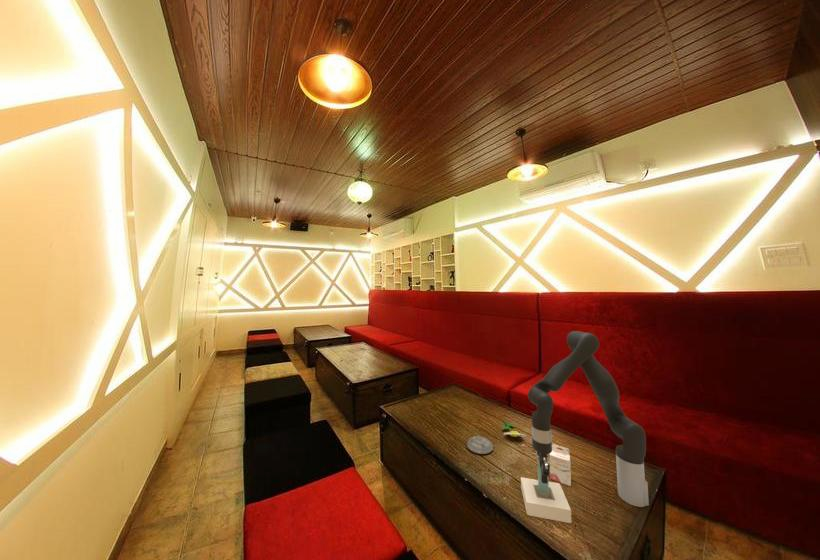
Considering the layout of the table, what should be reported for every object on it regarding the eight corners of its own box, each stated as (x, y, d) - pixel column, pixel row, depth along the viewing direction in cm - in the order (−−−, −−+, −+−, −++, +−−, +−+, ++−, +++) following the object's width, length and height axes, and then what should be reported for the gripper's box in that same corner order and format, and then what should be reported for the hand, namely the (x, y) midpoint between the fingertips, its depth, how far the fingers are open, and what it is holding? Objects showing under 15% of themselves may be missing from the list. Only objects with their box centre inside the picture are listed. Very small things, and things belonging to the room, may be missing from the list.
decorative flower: (493, 423, 177) (506, 442, 148) (493, 415, 178) (506, 433, 149) (512, 424, 176) (529, 444, 147) (512, 416, 177) (528, 435, 148)
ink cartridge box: (550, 479, 121) (548, 448, 121) (550, 473, 125) (549, 442, 126) (571, 486, 116) (569, 454, 117) (571, 479, 121) (569, 448, 121)
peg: (547, 486, 109) (546, 457, 109) (550, 493, 105) (548, 464, 105) (537, 484, 110) (536, 456, 110) (539, 491, 106) (538, 462, 106)
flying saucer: (495, 457, 138) (494, 447, 138) (466, 454, 141) (466, 444, 141) (491, 441, 152) (491, 432, 153) (466, 439, 155) (466, 430, 156)
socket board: (560, 495, 112) (559, 483, 112) (571, 523, 98) (571, 509, 99) (521, 488, 116) (520, 477, 116) (526, 515, 102) (526, 501, 103)
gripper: (556, 449, 100) (558, 493, 100) (546, 429, 114) (548, 468, 113) (535, 446, 102) (537, 490, 102) (528, 427, 116) (530, 466, 115)
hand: (543, 478), depth 108 cm, fingers closed on peg, 4 cm apart
